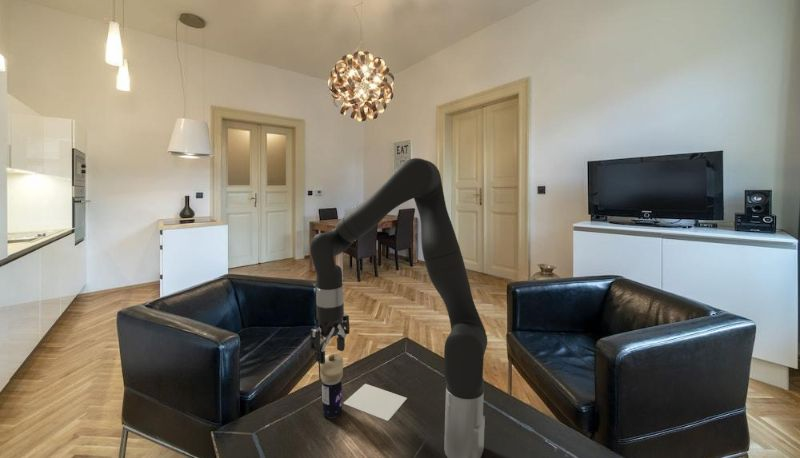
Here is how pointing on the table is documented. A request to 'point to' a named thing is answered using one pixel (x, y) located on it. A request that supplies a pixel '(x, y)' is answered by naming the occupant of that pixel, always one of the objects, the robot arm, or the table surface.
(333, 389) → the beverage can
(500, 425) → the table surface
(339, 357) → the lid
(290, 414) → the table surface
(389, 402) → the mat
